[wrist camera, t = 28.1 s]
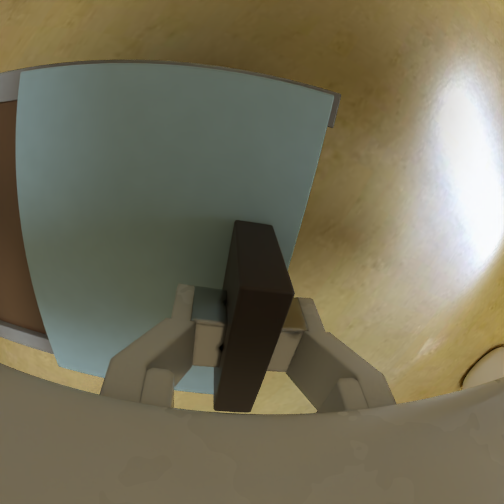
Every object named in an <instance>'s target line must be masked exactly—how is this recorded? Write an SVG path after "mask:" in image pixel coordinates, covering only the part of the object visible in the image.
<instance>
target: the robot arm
mask: <svg viewBox="0 0 504 504" xmlns="http://www.w3.org/2000/svg"><path fill="white" fill-rule="evenodd" d="M194 290H195V292H194ZM226 302H227V290H222V289H215V288H208V287H201V286H194V285H187V284H178V286H177V290H176V295H175V300H174V305H173V310H172V315H171V318H165V319H164V320H162V321H161V322H160V323H158V324H157V325H156V326H154V327H153V328H151V329H150V330H149V331H147V332H146V333H145V334H143V335H142V336H141V337H139V338H138V339H137V340H135V341H134V342H132V343H131V344H130V345H128V346H127V347H126V348H124V349H123V350H122V351H120V352H119V353H118V354H116V355H115V356H113V357H112V358H111V359H110V363H109V366H108V369H107V372H106V375H105V378H104V382H103V385H102V388H101V392H100V395H98V394H94V393H90V392H86V391H82V390H78V389H75V388H71V387H67V386H64V385H61V384H57V383H54V382H51V381H48V380H45V379H41V378H38V377H36V376H33V375H30V374H27V373H24V372H21V371H19V370H16V369H14V368H11V367H8V366H6V365H3V364H1V363H0V504H504V377H502V378H499V379H496V380H493V381H490V382H487V383H484V384H481V385H478V386H474V387H471V388H467V389H464V390H460V391H456V392H452V393H448V394H444V395H440V396H436V397H431V398H427V399H422V400H417V401H412V402H407V403H401V404H396V402H395V399H394V397H393V395H392V393H391V390H390V388H389V386H388V384H387V381H386V379H385V377H384V375H383V374H382V373H381V372H379V371H378V370H377V369H375V368H374V367H373V366H372V365H370V364H369V363H368V362H367V361H365V360H364V359H363V358H361V357H360V356H359V355H358V354H356V353H355V352H354V351H353V350H351V349H350V348H349V347H348V346H346V345H345V344H344V343H342V342H341V341H340V340H339V339H337V338H336V337H335V336H334V335H332V334H331V333H330V332H325V329H324V327H323V324H322V321H321V319H320V316H319V314H318V311H317V309H316V306H315V304H314V301H313V300H312V299H311V298H301V297H296V298H294V297H293V300H292V303H291V305H290V308H289V311H288V314H287V317H286V320H285V322H284V325H283V328H282V331H281V334H280V336H279V339H278V342H277V345H276V347H275V350H274V353H273V355H272V358H271V361H270V363H269V366H268V369H267V371H278V372H286V374H287V375H288V376H289V377H290V378H291V380H292V381H293V382H294V383H295V384H296V386H297V387H298V388H299V389H300V390H301V392H302V393H303V394H304V395H305V396H306V398H307V399H308V400H309V401H310V402H311V403H312V405H313V406H314V407H315V408H316V409H317V410H318V411H317V412H316V413H311V414H234V413H218V412H205V411H194V410H185V409H177V408H174V387H175V386H176V385H177V384H178V382H179V381H180V380H181V379H182V378H183V377H184V376H185V374H186V373H187V372H188V371H189V370H190V369H191V367H192V365H194V366H206V367H219V366H220V361H221V356H222V344H223V343H224V341H225V336H226V331H227V326H228V311H227V306H226Z"/></svg>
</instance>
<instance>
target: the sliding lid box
mask: <svg viewBox="0 0 504 504" xmlns="http://www.w3.org/2000/svg"><path fill="white" fill-rule="evenodd" d="M100 63H148V64H167V65H181V66H191V67H201V68H209V69H217V70H224V71H230V72H237V73H243V74H248V75H254V76H259V77H264V78H269V79H273V80H278V81H282V82H286V83H291V84H295V85H299V86H303V87H306V88H310V89H314V90H317V91H321V92H324V93H328V94H331V95H333V96H334V101H333V105H332V109H331V113H330V117H329V121H328V125H327V127H330V128H333V127H334V123H335V119H336V115H337V111H338V107H339V103H340V98H341V94H339V93H336V92H333V91H330V90H326V89H323V88H319V87H316V86H312V85H309V84H305V83H301V82H297V81H293V80H289V79H285V78H281V77H276V76H272V75H267V74H262V73H257V72H252V71H246V70H241V69H235V68H228V67H222V66H214V65H206V64H198V63H188V62H176V61H160V60H92V61H77V62H66V63H57V64H49V65H41V66H35V67H29V68H23V69H17V70H12V71H8V72H3V73H0V337H2V338H5V339H8V340H11V341H14V342H16V343H19V344H22V345H25V346H28V347H32V348H35V349H38V350H41V351H45V352H48V353H51V354H54V353H53V350H52V347H51V344H50V342H49V339H48V336H47V333H46V330H45V327H44V324H43V321H42V317H41V314H40V311H39V307H38V304H37V300H36V296H35V293H34V289H33V285H32V281H31V276H30V272H29V267H28V263H27V258H26V252H25V247H24V241H23V235H22V228H21V221H20V213H19V204H18V194H17V180H16V114H17V100H18V90H19V82H20V74H21V72H23V71H29V70H35V69H42V68H50V67H58V66H69V65H81V64H100Z"/></svg>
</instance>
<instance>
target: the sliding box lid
mask: <svg viewBox="0 0 504 504" xmlns="http://www.w3.org/2000/svg"><path fill="white" fill-rule="evenodd" d="M333 101H334V96H333V95H331V94H328V93H324V92H321V91H317V90H314V89H310V88H306V87H303V86H299V85H295V84H291V83H286V82H282V81H278V80H273V79H269V78H264V77H259V76H254V75H248V74H243V73H237V72H230V71H224V70H217V69H209V68H201V67H191V66H181V65H167V64H148V63H100V64H81V65H69V66H58V67H50V68H42V69H35V70H29V71H23V72H21V74H20V82H19V90H18V100H17V114H16V180H17V194H18V204H19V213H20V221H21V228H22V235H23V241H24V247H25V252H26V258H27V263H28V267H29V272H30V276H31V281H32V285H33V289H34V293H35V296H36V300H37V304H38V307H39V311H40V314H41V317H42V321H43V324H44V327H45V330H46V333H47V336H48V339H49V342H50V344H51V347H52V350H53V353H54V355H55V358H56V360H57V363H58V365H59V367H63V368H66V369H70V370H74V371H78V372H82V373H86V374H90V375H94V376H98V377H103V378H105V375H106V372H107V369H108V366H109V363H110V359H111V358H112V357H113V356H115V355H116V354H118V353H119V352H120V351H122V350H123V349H124V348H126V347H127V346H128V345H130V344H131V343H132V342H134V341H135V340H137V339H138V338H139V337H141V336H142V335H143V334H145V333H146V332H147V331H149V330H150V329H151V328H153V327H154V326H156V325H157V324H158V323H160V322H161V321H162V320H164V319H165V318H171V315H172V310H173V305H174V300H175V295H176V290H177V286H178V284H187V285H194V286H201V287H208V288H215V289H222V290H227V302H226V306H227V311H228V326H227V331H226V336H225V341H224V343H223V344H222V356H221V361H220V366H219V367H206V366H194V365H192V367H191V369H190V370H189V371H188V372H187V373H186V374H185V376H184V377H183V378H182V379H181V380H180V381H179V382H178V384H177V385H176V386H175V387H174V390H178V391H186V392H195V393H205V394H214V410H215V411H229V412H251V409H252V407H253V404H254V402H255V399H256V397H257V394H258V392H259V389H260V387H261V384H262V381H263V379H264V376H265V374H266V371H267V369H268V366H269V363H270V361H271V358H272V355H273V353H274V350H275V347H276V345H277V342H278V339H279V336H280V334H281V331H282V328H283V325H284V322H285V320H286V317H287V314H288V311H289V308H290V305H291V303H292V300H293V297H294V294H295V293H294V289H293V286H292V283H291V280H290V277H289V274H288V267H289V264H290V261H291V257H292V254H293V251H294V247H295V244H296V240H297V237H298V233H299V230H300V226H301V223H302V219H303V216H304V212H305V209H306V205H307V202H308V198H309V194H310V191H311V187H312V183H313V180H314V176H315V172H316V168H317V165H318V161H319V157H320V153H321V149H322V145H323V141H324V137H325V133H326V129H327V125H328V121H329V117H330V113H331V109H332V105H333ZM194 292H195V290H194Z"/></svg>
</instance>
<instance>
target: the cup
mask: <svg viewBox="0 0 504 504" xmlns="http://www.w3.org/2000/svg"><path fill="white" fill-rule="evenodd" d="M502 377H504V347H499V348H496V349H494V350H492V351H491V352H489V353H488V354H487V355H485V356H484V357H483V358H482V359H480V360H479V361H478V362H477V363H476V364H475V365H474V366H473V368H472V369H471V370H470V371H469V373H468V374H467V376H466V377H465V379H464V382H463V390H464V389H467V388H471V387H474V386H478V385H481V384H484V383H487V382H490V381H493V380H496V379H499V378H502Z"/></svg>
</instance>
